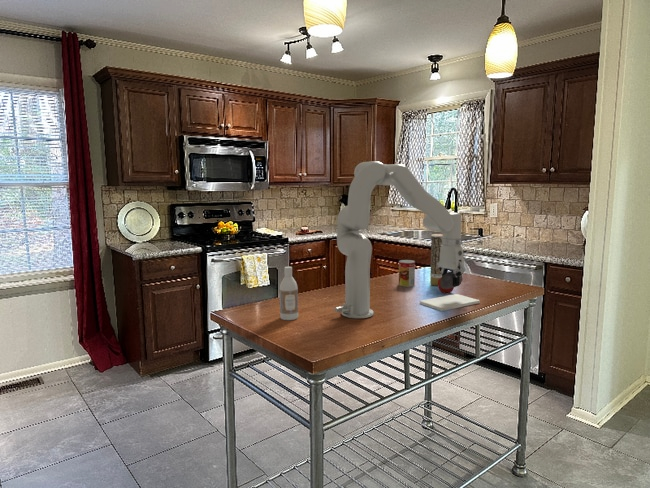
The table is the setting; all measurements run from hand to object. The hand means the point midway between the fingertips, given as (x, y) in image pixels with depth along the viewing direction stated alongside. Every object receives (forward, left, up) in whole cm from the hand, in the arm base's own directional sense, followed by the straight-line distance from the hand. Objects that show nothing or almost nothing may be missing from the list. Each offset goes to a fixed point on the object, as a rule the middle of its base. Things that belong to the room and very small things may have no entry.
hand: (450, 284), depth 194 cm
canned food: (+7, +36, -9) cm, 38 cm away
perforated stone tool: (0, 0, -2) cm, 2 cm away
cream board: (0, 0, -8) cm, 8 cm away
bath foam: (-67, +18, -9) cm, 70 cm away
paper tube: (+20, +28, -9) cm, 35 cm away
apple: (+12, +14, -9) cm, 20 cm away
